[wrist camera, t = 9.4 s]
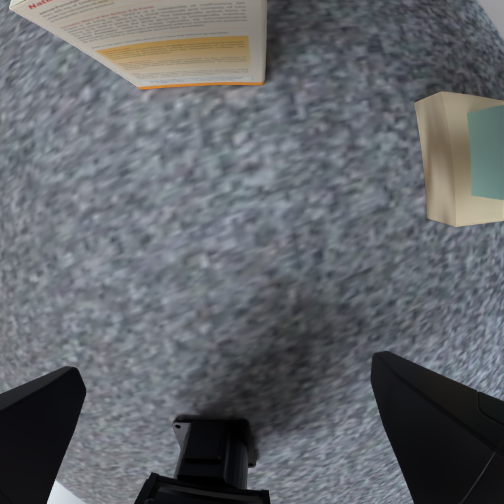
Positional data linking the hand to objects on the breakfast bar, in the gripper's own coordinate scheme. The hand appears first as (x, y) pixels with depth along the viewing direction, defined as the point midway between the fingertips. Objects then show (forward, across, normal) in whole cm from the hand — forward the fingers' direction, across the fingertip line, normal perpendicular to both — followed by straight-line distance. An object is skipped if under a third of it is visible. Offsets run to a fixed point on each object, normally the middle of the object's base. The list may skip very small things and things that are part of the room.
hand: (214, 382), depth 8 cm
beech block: (+12, -17, -6) cm, 22 cm away
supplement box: (+12, +1, -14) cm, 19 cm away
